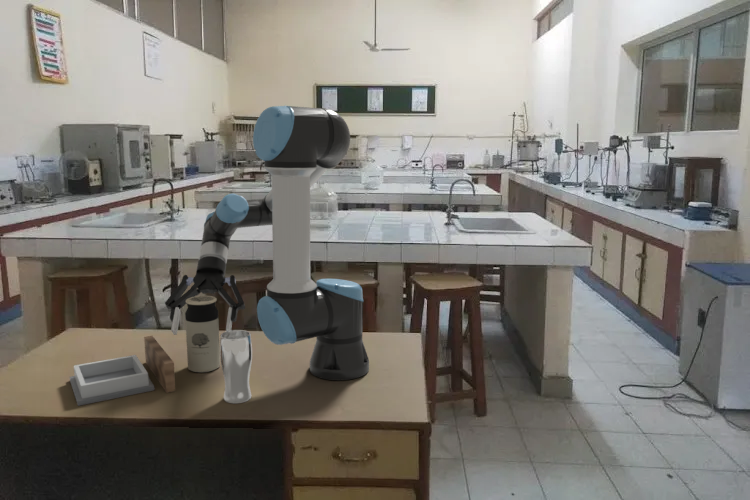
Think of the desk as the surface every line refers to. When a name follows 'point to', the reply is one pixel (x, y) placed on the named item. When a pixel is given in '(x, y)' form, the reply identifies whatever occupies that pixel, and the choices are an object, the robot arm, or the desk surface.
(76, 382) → the socket
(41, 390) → the desk surface
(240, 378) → the beer glass
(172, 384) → the door edge rail
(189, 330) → the travel mug
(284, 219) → the robot arm
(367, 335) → the desk surface
